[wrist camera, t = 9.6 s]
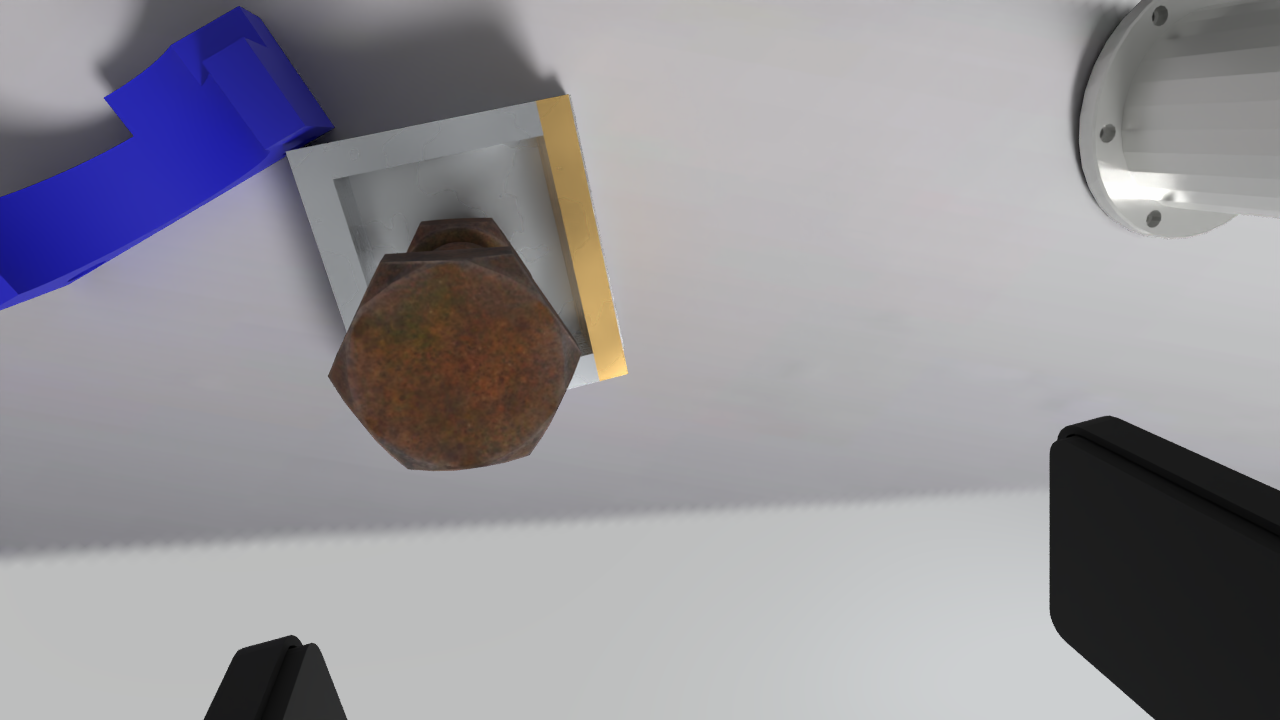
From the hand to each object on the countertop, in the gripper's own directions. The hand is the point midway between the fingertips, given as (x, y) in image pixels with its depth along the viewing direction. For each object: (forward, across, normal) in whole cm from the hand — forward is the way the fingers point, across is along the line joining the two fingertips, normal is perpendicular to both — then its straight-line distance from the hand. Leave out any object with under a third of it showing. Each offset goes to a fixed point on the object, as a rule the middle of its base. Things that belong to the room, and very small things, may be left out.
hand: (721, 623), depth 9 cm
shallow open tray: (+25, +3, -1) cm, 26 cm away
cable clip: (+26, +14, -8) cm, 30 cm away
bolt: (+24, +3, -1) cm, 25 cm away
